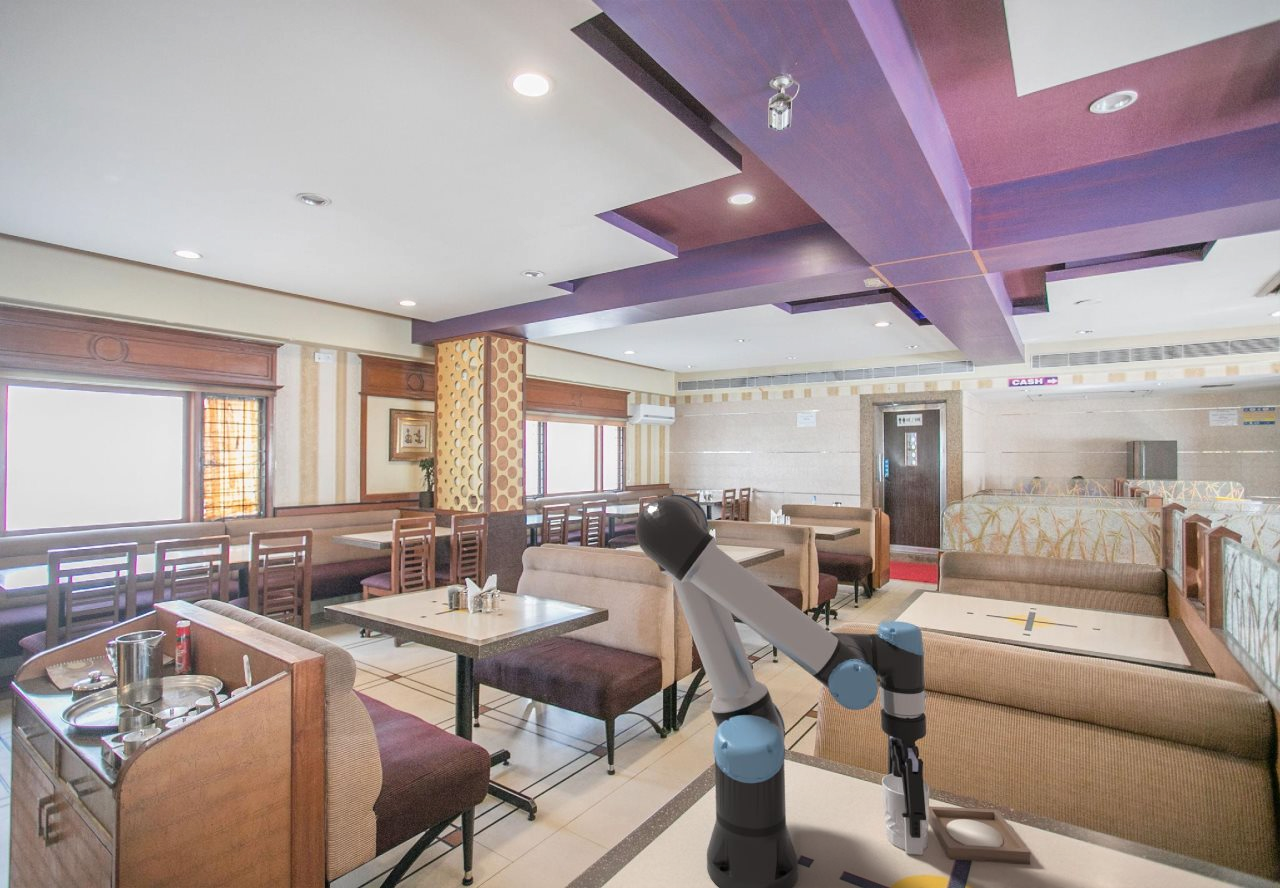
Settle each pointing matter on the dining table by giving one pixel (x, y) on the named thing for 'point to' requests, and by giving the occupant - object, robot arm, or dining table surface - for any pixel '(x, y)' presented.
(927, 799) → the white cup
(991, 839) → the tray
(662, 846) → the dining table surface
